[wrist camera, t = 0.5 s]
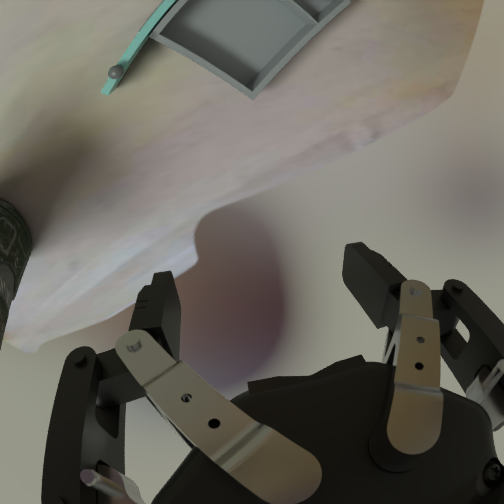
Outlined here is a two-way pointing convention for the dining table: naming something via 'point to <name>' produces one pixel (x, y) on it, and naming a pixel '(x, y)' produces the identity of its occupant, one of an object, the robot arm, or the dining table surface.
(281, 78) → the dining table surface
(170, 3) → the bar
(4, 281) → the canister
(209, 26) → the tray
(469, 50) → the dining table surface
